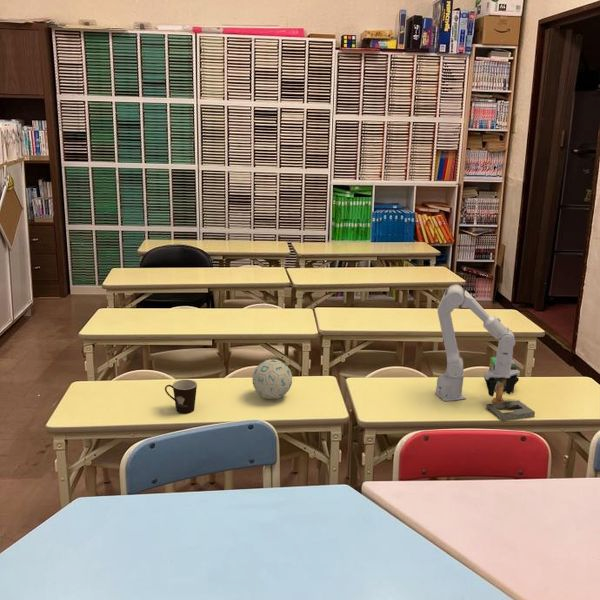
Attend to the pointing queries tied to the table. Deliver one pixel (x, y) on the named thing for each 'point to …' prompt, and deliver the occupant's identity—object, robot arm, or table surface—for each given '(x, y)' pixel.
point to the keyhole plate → (517, 414)
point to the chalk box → (502, 379)
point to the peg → (498, 394)
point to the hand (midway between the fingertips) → (499, 394)
